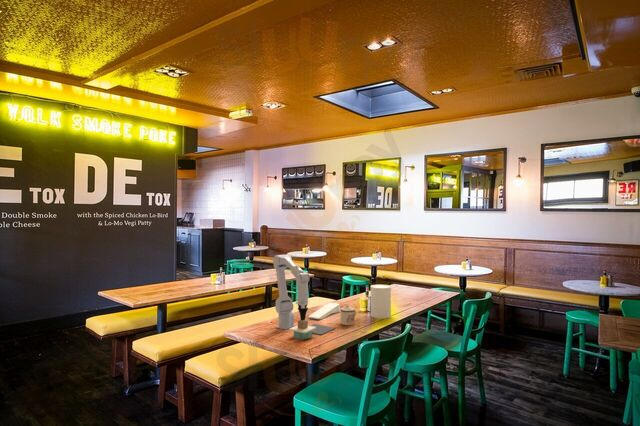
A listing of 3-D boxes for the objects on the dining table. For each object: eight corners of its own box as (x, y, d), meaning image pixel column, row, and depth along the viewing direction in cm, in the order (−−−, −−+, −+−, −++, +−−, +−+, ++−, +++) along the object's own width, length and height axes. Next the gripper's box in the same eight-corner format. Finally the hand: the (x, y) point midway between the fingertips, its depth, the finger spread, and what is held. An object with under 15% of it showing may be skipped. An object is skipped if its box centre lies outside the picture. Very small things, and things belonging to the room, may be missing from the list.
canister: (376, 319, 253) (376, 288, 253) (367, 314, 266) (367, 285, 266) (394, 317, 257) (394, 287, 257) (385, 312, 270) (384, 283, 270)
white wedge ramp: (319, 329, 251) (340, 314, 275) (321, 319, 250) (341, 304, 273) (306, 323, 256) (328, 308, 280) (308, 313, 254) (329, 299, 278)
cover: (300, 325, 225) (300, 317, 225) (316, 328, 219) (316, 320, 219) (289, 330, 216) (289, 321, 216) (304, 333, 210) (304, 324, 210)
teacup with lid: (347, 326, 237) (347, 307, 237) (337, 323, 243) (337, 304, 244) (360, 322, 245) (360, 304, 245) (350, 319, 252) (350, 301, 252)
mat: (314, 324, 240) (314, 323, 240) (335, 328, 232) (335, 327, 232) (300, 330, 228) (300, 329, 228) (321, 335, 219) (321, 334, 219)
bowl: (301, 332, 224) (301, 325, 224) (315, 335, 219) (315, 328, 219) (290, 337, 216) (290, 330, 216) (304, 340, 210) (304, 333, 210)
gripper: (295, 291, 224) (295, 315, 224) (295, 296, 210) (295, 321, 210) (307, 291, 225) (307, 314, 225) (308, 296, 210) (308, 321, 210)
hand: (302, 318), depth 217 cm, fingers open, 7 cm apart
